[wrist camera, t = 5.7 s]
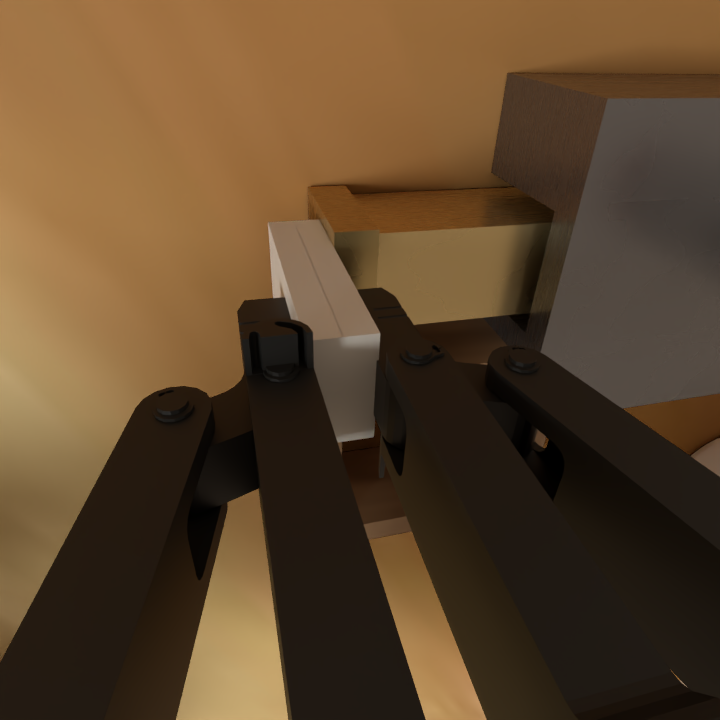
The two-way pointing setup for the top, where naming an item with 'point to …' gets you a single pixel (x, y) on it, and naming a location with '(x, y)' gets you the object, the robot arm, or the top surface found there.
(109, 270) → the top surface
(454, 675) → the top surface
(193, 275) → the top surface
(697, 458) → the cup
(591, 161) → the socket block
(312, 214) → the tan square peg
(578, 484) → the robot arm
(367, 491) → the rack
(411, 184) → the top surface
